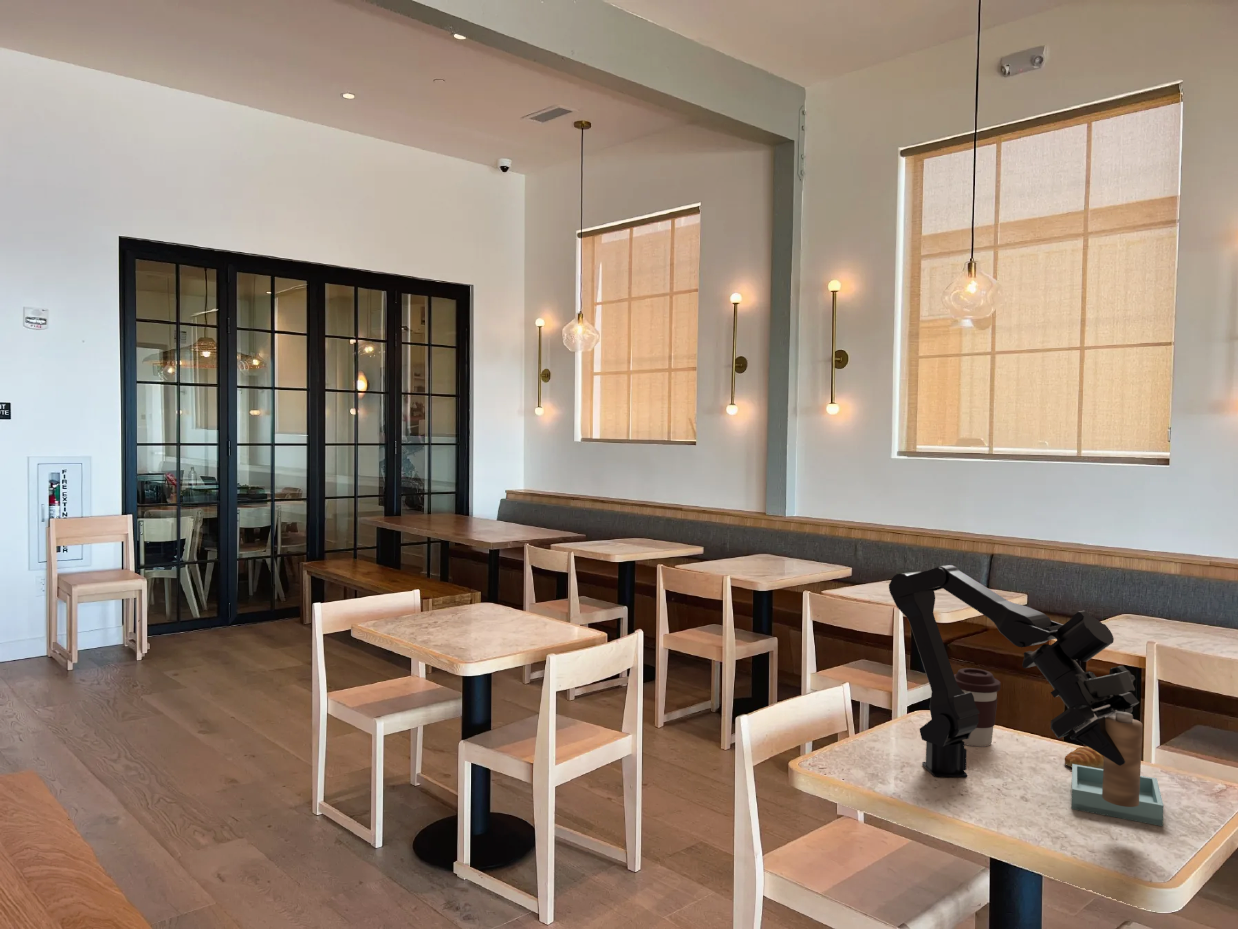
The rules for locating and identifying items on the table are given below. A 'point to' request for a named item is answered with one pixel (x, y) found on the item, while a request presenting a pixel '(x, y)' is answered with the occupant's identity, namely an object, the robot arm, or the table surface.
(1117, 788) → the pepper mill
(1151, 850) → the table surface
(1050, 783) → the table surface
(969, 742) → the coffee cup
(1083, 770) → the tray
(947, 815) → the table surface
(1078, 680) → the robot arm
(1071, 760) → the pastry
